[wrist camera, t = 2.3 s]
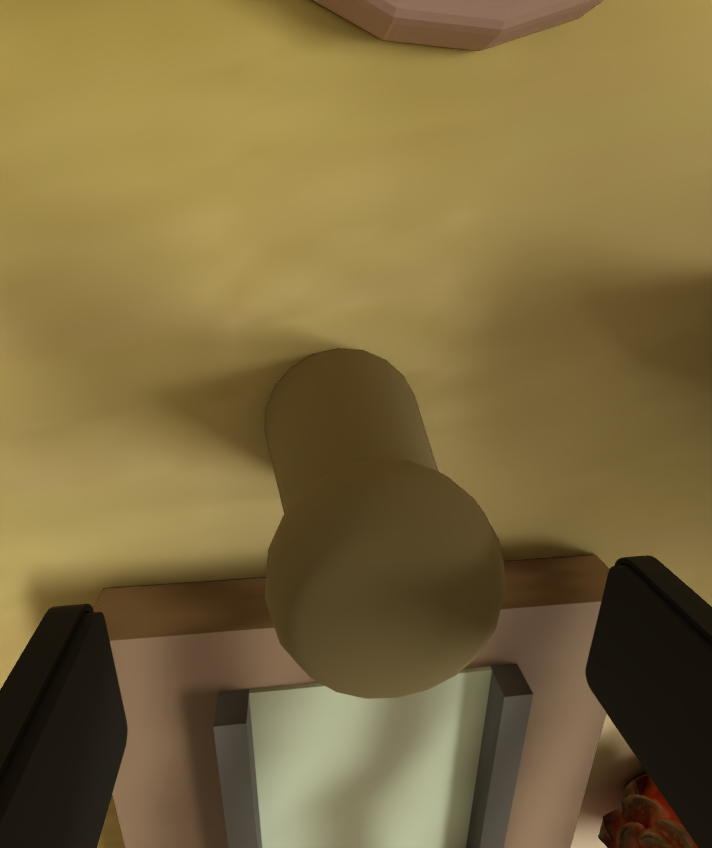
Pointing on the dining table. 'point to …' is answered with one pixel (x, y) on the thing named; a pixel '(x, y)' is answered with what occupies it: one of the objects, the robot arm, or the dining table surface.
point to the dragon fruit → (644, 820)
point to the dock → (352, 726)
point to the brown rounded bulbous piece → (372, 535)
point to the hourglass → (457, 19)
